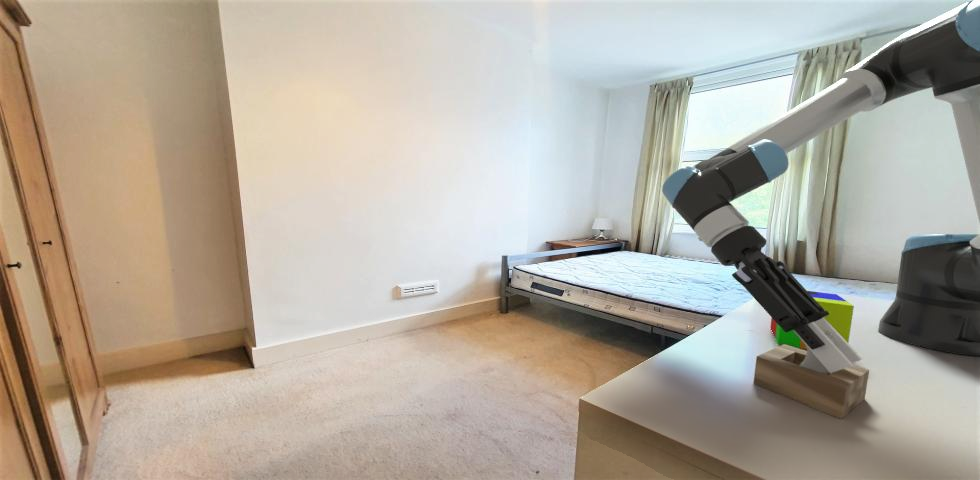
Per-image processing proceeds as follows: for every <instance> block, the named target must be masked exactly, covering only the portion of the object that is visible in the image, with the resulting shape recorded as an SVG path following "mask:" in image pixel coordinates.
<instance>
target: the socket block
mask: <svg viewBox="0 0 980 480" xmlns="http://www.w3.org/2000/svg"><path fill="white" fill-rule="evenodd" d="M806 353H807V350H806V349H803V348H798V347H793V346H788V345H785V344H783V345H782V344H780V345H778V346H777V347H775V348H772V349H770V350H768V351H766V352H764V353H761V354H758V355H756V360H755V365H754V366H755V367H754V375H753V384H754V385H756V386H759V387H762V388H764V389H766V390H769V391H771V392H773V393H776V394H778V395H780V396H783V397H786V398H789V399H790V400H793V401H796V402H798V403H801V404H804V405H806V406H809V407H811V408H813V409H816V410H818V411H821V412H822V413H826V414H828V415H830V416H832V417H836V418H838V419H841V420H842V419H844V418H845V417H846V416H847V415H848V414H849V413H850V412H851V411H853V410H854V409H855V408H856V407H857V406H858V405H859V404H861V403H862V402H863V401H864V400H865V399H866V393H867V387H868V380H869V375H870V369H867V368H865V367H861V366H858V365H854V364H853V366H851V367H848V368H845V369H842V370H839V371H836V372H833V373H832V374H831V375H827V374H824V373H821V372H818V371H815V370H812V369H809V368H806V367H803V366H800V365H801V363H802V362H803V361H804V359H805V356H806Z"/></svg>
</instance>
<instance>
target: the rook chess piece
mask: <svg viewBox="0 0 980 480" xmlns="http://www.w3.org/2000/svg"><path fill="white" fill-rule="evenodd" d="M825 335H826V336H827V337H828V338H829V339H830V340H831V341H832V342H833V343H835V341H834V339H833V338H832V334H830V333H829V332H825ZM806 347H807V346H806ZM806 351H807V353H806V356H805V359H804V361H803V362H802V363H801V365H800V366H803V367H806V368H809V369H812V370H815V371H818V372H821V373H824V374H827V375H831V374H832V373H830V372H829V371H828V370H827V369H826V368H825V366H824V365H823V364H822V363H821V362H820V361H819V360H818V358H817V357H816V356H815V355H814V354H813V353H812V352H811V350H810V349H809V348H808V347H807V349H806Z"/></svg>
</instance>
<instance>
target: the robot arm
mask: <svg viewBox="0 0 980 480" xmlns="http://www.w3.org/2000/svg"><path fill="white" fill-rule="evenodd" d="M930 88H932V92H933V93H932V94H933V96H934V99H936V100H940V101H943V102H947V103H949V104H951V105H950V106H951V109H952V113H953V114H952V115H953V117H954V120H955V125H956V130H957V135H958V139H959V142H960V148H961V151H962V156H963V159H964V163H965V168H966V171H967V176H968V181H969V184H970V189H971V192H972V197H973V201H974V205H975V210H976V214H977V219H978V222H979V224H980V0H969V1H967V2H966V3H964V4H962V5H960V6H958V7H955V8H954V9H953V8H952V10H950V11H948V12H945V13H943V14H941V15H939V16H937V17H935V18H933V19H931V20H929V21H927V22H924V23H923V24H921V25H918V26H916V27H914V28H912V29H910V30H908V31H905V32H904V33H902V34H901V35H899V36H897V37H896V38H894V39H893V40H892V41H889V42H888V43H887V44H885V45H884V46H882V47H880V49H877V51H875V52H873V53H872V54H870V55H869V56H868V57H866V58H865V59H863V60H861V61H860V62H858V63H857V64H856V65H854V66H852V67H850V68H849V69H847V70H846V71H845V72H842V73H841V74H840V75H839V76H838V78H836V81H835V83H834V84H832V85H830V86H828V87H827V88H826V89H824V90H822V91H820V92H819V93H817V94H815V95H814V96H811V97H810V98H809V99H807V100H805V101H803V102H802V103H800V104H798V105H796V106H795V107H793V108H791V109H790V110H788V111H786V112H785V113H783V114H782V115H780V116H778V117H777V118H775V119H773V120H772V121H770V122H768V123H767V124H765V125H764V126H762V127H760V128H758V129H757V130H755V131H753V132H751V133H750V134H749V135H747V136H744V137H743V138H742V139H740V140H738V141H737V142H735V143H733V144H731V145H730V146H728V147H727V148H726V149H724V150H722V151H720V152H718V153H717V154H715V155H713V156H711V157H710V158H709V159H705V160H701V161H700V162H697V163H696V164H695V165H693V166H692V165H687V166H685V167H680V168H679V169H677V170H675V171H674V172H673V173H671V174H670V175H669V176H668V177H666V178H667V179H666V178H665V181H664V182H663V184H662V187H661V189H662V190H661V191H662V194H663V195H664V197H665V199H666V200H667V201H668V203H669V204H670V205H671V207H672V208H673V209H674V210H675V211H676V212H677V213H678V214H679V216H681V218H682V219H683V220H684V221H685V222H686V223H687V225H688V226H689V227H690V228H691V229H692V230H693V232H694V233H695V234H696V235H697V236H698V241H700V242H702V243H704V245H705V246H706V247H707V248H711V249H710V252H711V253H712V255H713V256H714V257H715V258H716V259H717V260H718V262H719V263H720V264H721V265H722V266H724V267H729V266H734V267H735V268H736V270H737V271H735V272H734V273H732V274H731V276H732V278H733V279H734V280H736V281H737V282H738V283H739V284H740V285H741V286H743V287H744V288H745V290H746V291H748V293H749V294H750V296H752V297H753V298H754V299H755V301H756V302H757V303H758V304H759V306H761V307H762V309H764V310H765V312H766V313H767V314H768V315H769V316H770V318H771V319H772V318H773V319H774V320H775V322H776V323H777V324H778V325H779V326H780V327H781V328H783V329H782V330H783V331H785V332H789V331H792V330H793V331H794V332H795V333H796V334H797V336H798V337H799V338H800V339H801V340H802V341H803V342H804V344H805V345H806V346H807V347H808V348H809V349H810V350H811V352H812V353H813V354H814V355H815V356H816V357H817V358H818V360H819V361H820V362H821V363H822V364H823V365H824V366H825V368H826V369H827V370H828V371H829V372H830V373H833V372H836V371H839V370H842V369H845V368H848V367H851V366H853V365H854V363H856V362H860V361H862V360H863V359H864V358H863V357H862V356H861V355H860V354H859V353H858V352H857V351H856V350H855V349H854V347H852V346H851V345H850V343H849V342H848V343H847V342H846V340H845V339H844V338H843V337H842V336H841V335H840V334H839V333H838V332H837V331H836V330H835V329H834V328H833V327H832V326H831V325H830V324H829V323H828V321H827V320H826V319H825V318H823V317H825V316H828V315H829V313H828V311H827V310H826V311H824V309H823V308H822V307H821V306H820V305H819V303H818V302H817V301H816V300H815V299H814V298H813V297H812V296H811V295H810V294H809V293H808V292H807V291H808V290H806V288H805V287H804V286H803V285H802V283H800V282H799V281H798V279H797V278H796V277H795V276H794V275H793V274H792V273H791V272H790V271H789V269H788V268H787V266H786V265H785V264H784V262H782V261H781V260H779V261H777V262H776V261H775V260H774V259H773V258H771V257H770V256H767V255H766V254H764V252H762V249H763V248H764V247H765V246H766V245H767V240H766V238H765V237H764V236H763V235H762V234H761V233H760V232H759V231H758V230H757V229H756V228H755V227H754V226H753V225H749V224H750V222H749V220H748V219H747V218H746V217H745V216H744V215H743V214H742V213H741V212H740V211H739V210H738V209H737V208H736V207H735V206H734V205H733V204H732V203H731V202H734V201H735V200H736V199H739V198H740V197H742V196H744V195H746V194H749V193H750V192H752V191H754V190H756V189H758V188H760V187H762V186H764V185H766V184H770V183H771V182H772V181H774V180H776V179H777V178H778V177H780V176H782V175H783V174H785V173H786V172H787V170H788V168H789V158H788V155H787V154H788V153H790V152H792V151H794V150H795V149H798V148H799V147H801V146H803V145H804V144H806V143H807V142H810V141H811V140H813V139H815V138H816V137H818V136H820V135H822V134H824V133H825V132H827V131H829V130H830V129H832V128H834V127H836V126H838V125H839V124H841V123H843V122H844V121H847V120H848V119H850V118H851V117H853V116H855V115H856V114H859V113H860V112H862V113H864V112H866V113H867V112H871V111H874V110H876V109H878V108H879V107H881V106H883V105H885V104H887V103H889V102H891V101H894V100H896V99H899V98H901V97H904V96H908V95H910V94H914V93H916V92H921V91H923V90H927V89H930ZM903 246H904V247H903V249H902V251H901V258H900V262H899V263H900V265H899V270H898V271H899V272H898V279H897V286H896V292H895V298H894V301H893V302H892V303H891V305H890V306H889V307H888V309H887V310H886V312H885V313H884V314H883V316H882V317H881V318H880V320H879V322H878V332H879V333H880V334H883V335H884V336H886V337H888V338H892V339H894V340H897V341H901V342H903V343H907V344H911V345H913V346H914V345H915V346H917V347H923V348H926V349H931V350H936V351H940V352H946V353H952V354H959V355H965V356H974V357H975V356H976V357H977V356H978V357H980V233H978V234H977V233H976V234H975V233H974V234H973V233H940V234H939V233H934V234H933V233H930V234H929V233H928V234H914V235H911V236H909V237H908V238H907V239H906V240H905V243H904V245H903ZM825 332H829V333H830V334H832V338H833V339H834V341H835V343H833V342H832V341H831V340H830V339H829V338H828V337H827V336H826V335H825Z"/></svg>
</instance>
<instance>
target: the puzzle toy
mask: <svg viewBox="0 0 980 480" xmlns="http://www.w3.org/2000/svg"><path fill="white" fill-rule="evenodd" d="M807 292H808V293H809V294H810V295H811V296H812V297H813V298H814V299H815V300H816V301H817V302H818V303H819V305H820V306H821V307H822V308H823V309H824V311H826V310H827V311H828V313H829V315H828V316H825V317H823V318H825V319H826V320H827V321H828V323H829V324H830V325H831V326H832V327H833V328H834V329H835V330H836V331H837V332H838V333H839V334H840V335H841V336H842V337H843V338H844V339H845V340H846V342H847V343H848V344H849V341H850V336H851V335H850V333H851V328H852V321H853V314H854V306H855V305H854V304H852V303H851V302H849V301H848V300H846V299H844V298H843V297H842V296H840V295H838V294H836V293H830V292H820V291H811V290H807ZM770 328H771V329H770ZM770 328H769V329H770V331H771V330H772V331H771V333H772V332H773V333H772V335H773V334H774V335H773V337H774V336H775V337H774V339H775V338H776V339H775V341H776V342H777V344H778V345H783V344H785V345H788V346H792V347H795V348H798V349H802V350H807V347H806V345H805V344H804V342H803V341H802V340H801V339H800V338H799V337H798V336H797V334H796V333H795V332H794V331H793V330H792V331H789V332H785V331H783V330H782V329H783V328H781V327H780V326H779V325H778V324H777V323H776V322H775V320H774V319H773V318H772V317H771V319H770Z"/></svg>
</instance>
